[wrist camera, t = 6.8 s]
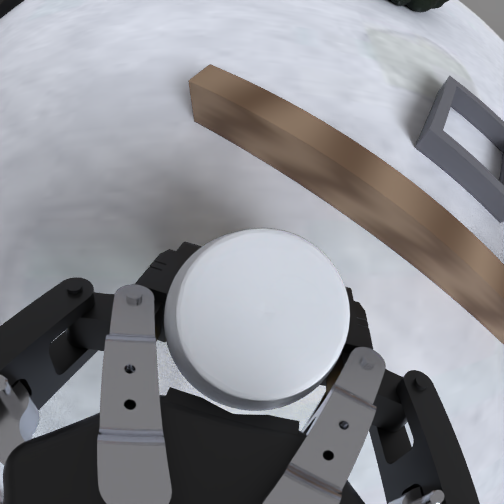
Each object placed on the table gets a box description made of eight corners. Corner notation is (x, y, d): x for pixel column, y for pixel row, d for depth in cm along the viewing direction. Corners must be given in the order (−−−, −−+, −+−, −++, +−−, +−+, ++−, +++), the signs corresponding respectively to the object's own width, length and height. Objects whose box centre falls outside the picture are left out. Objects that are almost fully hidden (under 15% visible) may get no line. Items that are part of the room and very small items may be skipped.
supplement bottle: (192, 375, 16) (130, 422, 6) (199, 275, 17) (155, 187, 7) (295, 380, 16) (376, 429, 6) (299, 281, 17) (377, 205, 7)
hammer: (185, 130, 20) (162, 7, 10) (221, 97, 21) (218, -21, 11) (532, 387, 15) (619, 384, 6) (545, 346, 17) (627, 332, 7)
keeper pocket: (414, 147, 21) (429, 129, 18) (438, 91, 23) (449, 75, 21) (500, 223, 19) (519, 212, 17) (509, 153, 22) (523, 141, 20)
